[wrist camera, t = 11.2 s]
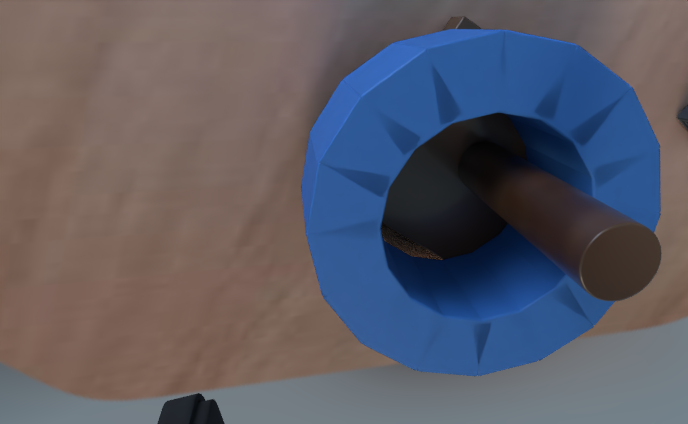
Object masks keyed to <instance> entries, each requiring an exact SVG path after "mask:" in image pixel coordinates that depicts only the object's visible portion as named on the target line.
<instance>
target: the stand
mask: <svg viewBox="0 0 688 424" xmlns="http://www.w3.org/2000/svg"><path fill="white" fill-rule="evenodd" d="M449 29H481V28H480V27H478V26H477V25H476V24H474V23H473V22H472V21H470V20H469V19H467V18H466V17H464V16H462V17H452V18H451V19H450V20H449V22H448V23H447V25H446V26H445V28H444V29H443V31H445V30H449ZM382 224H384V225H386V226H388V227H389V228H391V229H393V230H394V231H396V232H398V233H400V234H401V235H403V236H405V237H406V238H408V239H410V240H412V241H413V242H415V243H417V244H418V245H420V246H422V247H423V248H425V249H427V250H429V251H430V252H432V253H434V254H435V255H437V256H439V257H441V258H442V259H448V258H452V257H456V256H460V255H464V254H468V253H472V252H473V251H475V250H476V249H478V248H479V247H481V246H483V245H484V244H486V243H487V242H489V241H490V240H492V239H493V238H495V237H496V236H498V235H499V234H500V233H501V232H502V231H503V229H504V228H505V227H506V225H507V224H509V225H511V226H512V227H513V228H514V229H515V230H516V231H517V232H519V233H520V234H521V235H522V236H523V237H524V238H525V239H527V240H528V241H529V242H530V243H531V244H532V245H533V246H534V247H536V248H537V249H538V250H539V251H540V252H541V253H542V254H544V255H545V256H546V257H547V258H548V259H549V260H550V261H552V262H553V263H554V264H555V265H556V266H557V267H558V268H560V269H561V270H562V271H563V272H564V273H565V274H566V275H568V276H569V277H570V278H571V279H572V280H573V281H574V282H576V283H577V284H578V285H579V286H580V287H581V288H582V289H584V290H585V291H586V292H587V293H588V294H589V295H591V296H592V297H594V298H596V299H599V300H603V301H620V300H624V299H627V298H629V297H632V296H634V295H635V294H637V293H639V292H640V291H641V290H643V289H644V288H645V287H646V286H647V285H648V284H649V283H650V282H651V280H652V279H653V278H654V276H655V274H656V273H657V270H658V268H659V265H660V261H661V246H660V243H659V240H658V238H657V237H656V235H655V234H654V233H653V231H652V230H650V229H649V228H648V227H646V226H644V225H642V224H641V223H639V222H637V221H635V220H633V219H631V218H630V217H628V216H626V215H624V214H622V213H621V212H619V211H617V210H615V209H613V208H612V207H610V206H608V205H606V204H604V203H603V202H601V201H599V200H597V199H595V198H593V197H592V196H590V195H588V194H586V193H584V192H583V191H581V190H579V189H577V188H575V187H574V186H572V185H570V184H568V183H566V182H564V181H563V180H561V179H559V178H557V177H555V176H554V175H552V174H550V173H548V172H546V171H545V170H543V169H541V168H539V167H537V166H536V165H534V164H532V163H530V162H528V161H527V155H526V146H525V144H524V142H523V140H522V139H521V137H520V135H519V134H518V132H517V130H516V128H515V127H514V125H513V123H512V121H511V120H510V118H509V117H508V116H507V115H505V114H504V113H493V114H489V115H485V116H481V117H477V118H473V119H468V120H464V121H460V122H456V123H452V124H451V125H449V126H448V127H447V128H445V129H444V130H442V131H441V132H439V133H438V134H437V135H435V136H434V137H432V138H431V139H429V140H428V141H427V142H425V143H424V144H422V145H421V146H419V147H418V148H417V149H415V150H414V152H413V153H412V155H411V156H410V158H409V159H408V161H407V162H406V164H405V165H404V167H403V168H402V170H401V171H400V173H399V174H398V176H397V177H396V179H395V180H394V182H393V183H392V185H391V186H390V188H389V192H388V196H387V201H386V206H385V210H384V215H383V220H382Z"/></svg>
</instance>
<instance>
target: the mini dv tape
mask: <svg viewBox="0 0 688 424" xmlns="http://www.w3.org/2000/svg"><path fill="white" fill-rule="evenodd" d="M677 118H678V119H679V121H680V122H681V123H682V124H683V125H684V127H685V128H686V129H687V130H688V105H687V106H686V107H685V108H684V109H683V110H682V111H681V112H680V113H679V114H678V115H677Z"/></svg>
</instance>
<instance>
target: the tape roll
mask: <svg viewBox="0 0 688 424" xmlns="http://www.w3.org/2000/svg"><path fill="white" fill-rule="evenodd" d="M493 113H504V114H505V115H507V116H508V117H509V118H510V120H511V121H512V123H513V125H514V127H515V128H516V130H517V132H518V134H519V135H520V137H521V139H522V140H523V142H524V144H525V146H526V155H527V161H528V162H530V163H532V164H534V165H536V166H537V167H539V168H541V169H543V170H545V171H546V172H548V173H550V174H552V175H554V176H555V177H557V178H559V179H561V180H563V181H564V182H566V183H568V184H570V185H572V186H574V187H575V188H577V189H579V190H581V191H583V192H584V193H586V194H588V195H590V196H592V197H593V198H595V199H597V200H599V201H601V202H603V203H604V204H606V205H608V206H610V207H612V208H613V209H615V210H617V211H619V212H621V213H622V214H624V215H626V216H628V217H630V218H631V219H633V220H635V221H637V222H639V223H641V224H642V225H644V226H646V227H648V228H649V229H650V230H652V231H653V233H654V231H655V228H656V225H657V223H658V220H659V218H660V215H661V214H660V149H659V148H660V145H659V143H658V141H657V139H656V136H655V134H654V132H653V130H652V128H651V126H650V124H649V121H648V119H647V117H646V115H645V113H644V111H643V109H642V106H641V104H640V102H639V100H638V98H637V96H636V94H635V92H634V89H633V88H632V87H630V85H629V84H628V83H626V82H625V81H624V80H622V79H621V78H620V77H619V76H617V75H616V74H615V73H613V72H612V71H611V70H610V69H608V68H607V67H606V66H604V65H603V64H602V63H601V62H599V61H598V60H597V59H595V58H594V57H593V56H592V55H590V54H589V53H588V52H587V51H585V50H584V49H583V48H581V47H580V46H579V45H576V44H574V43H570V42H565V41H560V40H555V39H550V38H545V37H540V36H535V35H530V34H525V33H520V32H515V31H510V30H484V29H449V30H445V31H440V32H436V33H432V34H427V35H423V36H419V37H415V38H410V39H406V40H402V41H398V42H394V43H393V44H390V45H389V46H387V47H386V48H385V49H383V50H382V51H381V52H379V53H378V54H376V55H375V56H374V57H372V58H371V59H370V60H368V61H367V62H365V63H364V64H363V65H361V66H360V67H359V68H357V69H356V70H355V71H353V72H352V73H350V74H349V75H348V76H346V77H345V78H344V79H343V80H342V81H341V82H340V84H339V85H338V87H337V88H336V90H335V92H334V93H333V95H332V97H331V98H330V100H329V101H328V103H327V105H326V106H325V108H324V110H323V111H322V113H321V114H320V116H319V118H318V119H317V121H316V123H315V124H314V126H313V127H312V129H311V132H310V135H309V141H308V147H307V154H306V160H305V166H304V173H303V179H302V185H301V190H302V199H303V209H304V218H305V227H306V236H307V239H308V243H309V247H310V251H311V255H312V258H313V262H314V266H315V270H316V273H317V277H318V281H319V285H320V289H321V292H322V295H323V297H324V299H325V300H326V301H327V303H328V304H329V305H330V306H331V307H332V309H333V310H334V311H335V312H336V313H337V315H338V316H339V317H340V318H341V320H342V321H343V322H344V323H345V324H346V326H347V327H348V328H349V329H350V330H351V332H352V333H353V334H354V335H355V336H356V338H357V339H358V340H359V341H360V342H361V343H362V344H364V345H365V346H367V347H369V348H371V349H373V350H375V351H377V352H379V353H381V354H383V355H385V356H387V357H389V358H391V359H393V360H395V361H397V362H399V363H401V364H403V365H405V366H407V367H409V368H411V369H413V370H417V371H421V372H433V373H445V374H456V375H467V376H477V375H478V376H481V375H485V374H489V373H493V372H496V371H501V370H505V369H509V368H513V367H516V366H520V365H524V364H528V363H532V362H536V361H538V360H542V359H543V358H545V357H546V356H548V355H550V354H551V353H553V352H554V351H556V350H558V349H559V348H561V347H562V346H564V345H566V344H567V343H569V342H570V341H572V340H573V339H575V338H577V337H578V336H580V335H581V334H583V333H585V332H586V331H588V330H589V329H591V328H593V327H594V325H595V324H596V323H597V322H598V321H599V320H600V319H601V317H602V316H603V315H604V314H605V313H606V311H607V310H608V309H609V308H610V307H611V305H612V304H613V303H614V302H615V301H603V300H599V299H596V298H594V297H592V296H591V295H589V294H588V293H587V292H586V291H585V290H584V289H582V288H581V287H580V286H579V285H578V284H577V283H576V282H574V281H573V280H572V279H571V278H570V277H569V276H568V275H566V274H565V273H564V272H563V271H562V270H561V269H560V268H558V267H557V266H556V265H555V264H554V263H553V262H552V261H550V260H549V259H548V258H547V257H546V256H545V255H544V254H542V253H541V252H540V251H539V250H538V249H537V248H536V247H534V246H533V245H532V244H531V243H530V242H529V241H528V240H527V239H525V238H524V237H523V236H522V235H521V234H520V233H519V232H517V231H516V230H515V229H514V228H513V227H512V226H511V225H509V224H507V225H506V227H505V228H504V229H503V231H502V232H501V233H500V234H499V235H498V236H496V237H495V238H493V239H492V240H490V241H489V242H487V243H486V244H484V245H483V246H481V247H479V248H478V249H476V250H475V251H473V252H472V253H468V254H464V255H460V256H456V257H452V258H448V259H444V260H436V259H428V258H420V257H412V256H410V255H408V254H406V253H404V252H403V251H401V250H399V249H397V248H396V247H394V246H392V245H390V244H389V243H387V242H385V241H384V240H383V238H382V233H381V225H382V220H383V215H384V210H385V206H386V201H387V196H388V192H389V188H390V186H391V185H392V183H393V182H394V180H395V179H396V177H397V176H398V174H399V173H400V171H401V170H402V168H403V167H404V165H405V164H406V162H407V161H408V159H409V158H410V156H411V155H412V153H413V152H414V150H415V149H417V148H418V147H419V146H421V145H422V144H424V143H425V142H427V141H428V140H429V139H431V138H432V137H434V136H435V135H437V134H438V133H439V132H441V131H442V130H444V129H445V128H447V127H448V126H449V125H451V124H452V123H456V122H460V121H464V120H468V119H473V118H477V117H481V116H485V115H489V114H493Z"/></svg>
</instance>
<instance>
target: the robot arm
mask: <svg viewBox="0 0 688 424" xmlns="http://www.w3.org/2000/svg"><path fill="white" fill-rule="evenodd" d="M158 424H224V421H223V418H222V416H221V413H220V411H219V408H218V405H217V403H216V401H215V400H213V399H212V400H207V401H205V399H204V397H203V396H202V394H199V393H198V394H194V395H190V396H186V397H182V398H178V399H174V400H170V401H167V402H166V403H165V404H164V406H163V408H162V411H161V415H160V418H159V421H158Z"/></svg>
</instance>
